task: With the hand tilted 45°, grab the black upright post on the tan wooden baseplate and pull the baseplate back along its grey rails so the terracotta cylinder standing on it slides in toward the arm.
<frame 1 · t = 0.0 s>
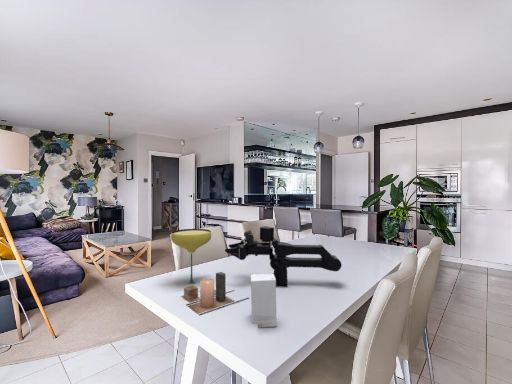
hand: (227, 248, 125), 17 cm above the table, tool horizontal, fingers open, 9 cm apart
skincare box: (263, 323, 88), on the table
broken strip: (207, 296, 109), on the table
cocktail glass: (191, 285, 121), on the table
terracotta cylinder: (207, 305, 98), point 1 cm above the table, touching tan wooden baseplate
lane rails: (220, 304, 102), on the table
walnut cube: (191, 297, 105), point 1 cm above the table, touching broken strip
tan wooden baseplate: (211, 290, 99), point 6 cm above the table, slide at 0.0 cm, touching terracotta cylinder
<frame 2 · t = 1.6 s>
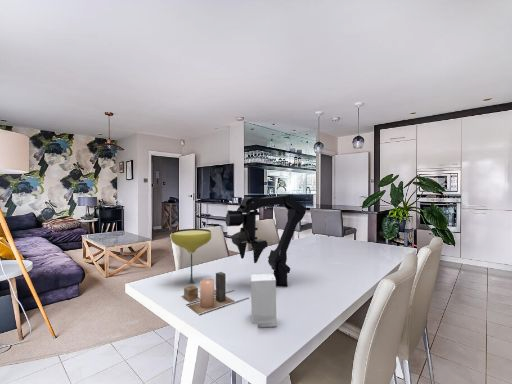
hand: (248, 260, 116), 13 cm above the table, tool pointing down, fingers open, 9 cm apart
nothing on the table moved.
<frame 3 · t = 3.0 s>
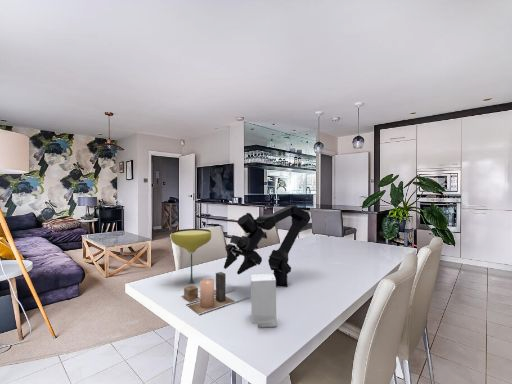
hand: (230, 270, 105), 12 cm above the table, tool tilted 45°, fingers open, 9 cm apart
nothing on the table moved.
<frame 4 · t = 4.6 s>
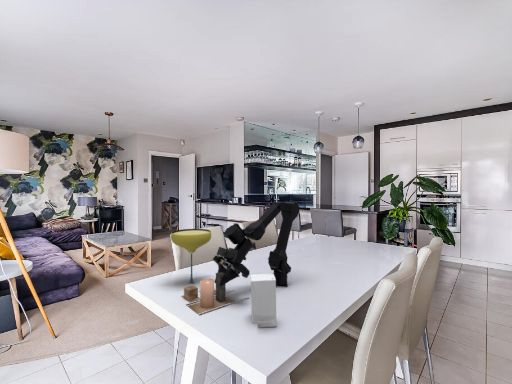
hand: (217, 284, 101), 8 cm above the table, tool tilted 45°, fingers closed on tan wooden baseplate, 3 cm apart
tan wooden baseplate: (211, 290, 99), point 6 cm above the table, slide at 0.0 cm, touching gripper, terracotta cylinder
everything else where it was.
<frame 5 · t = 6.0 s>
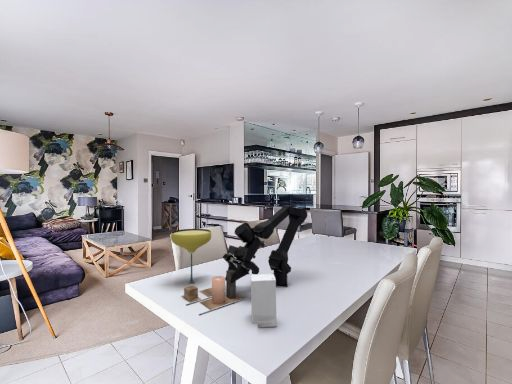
hand: (228, 281, 104), 8 cm above the table, tool tilted 45°, fingers closed on tan wooden baseplate, 3 cm apart
terracotta cylinder: (218, 301, 101), point 1 cm above the table, touching tan wooden baseplate
tan wooden baseplate: (222, 287, 102), point 6 cm above the table, slide at 4.9 cm, touching gripper, terracotta cylinder
everything else where it was.
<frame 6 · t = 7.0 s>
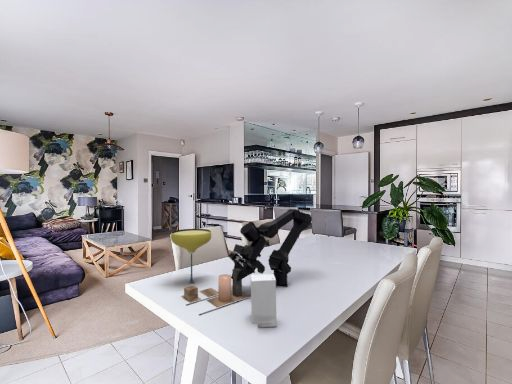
hand: (234, 279, 106), 8 cm above the table, tool tilted 45°, fingers closed on tan wooden baseplate, 3 cm apart
terracotta cylinder: (224, 299, 103), point 1 cm above the table, touching tan wooden baseplate
tan wooden baseplate: (228, 285, 104), point 6 cm above the table, slide at 7.9 cm, touching gripper, terracotta cylinder
everything else where it was.
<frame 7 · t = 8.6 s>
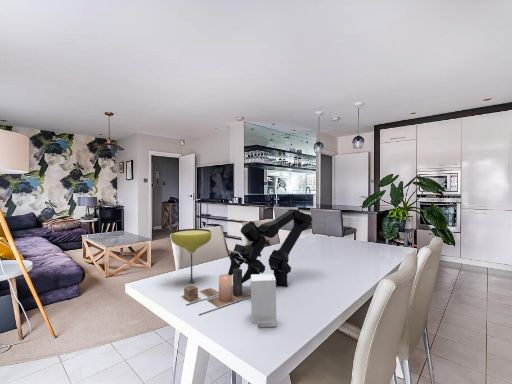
hand: (234, 279, 106), 8 cm above the table, tool tilted 45°, fingers open, 9 cm apart
tan wooden baseplate: (229, 285, 104), point 6 cm above the table, slide at 8.1 cm, touching terracotta cylinder
everything else where it was.
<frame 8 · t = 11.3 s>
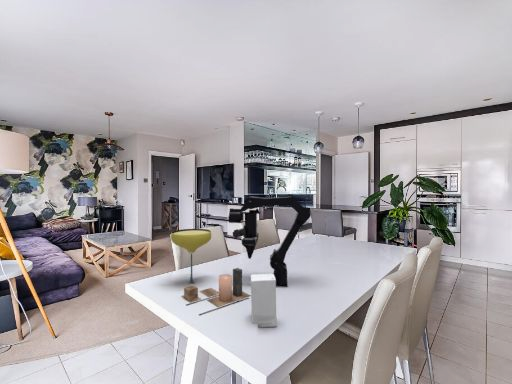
hand: (250, 256, 124), 13 cm above the table, tool pointing down, fingers open, 9 cm apart
nothing on the table moved.
at the end: tan wooden baseplate slide at 8.1 cm; terracotta cylinder inside the target area (0.1 cm from its centre), point 1.4 cm above the table; terracotta cylinder tilted 0° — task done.
